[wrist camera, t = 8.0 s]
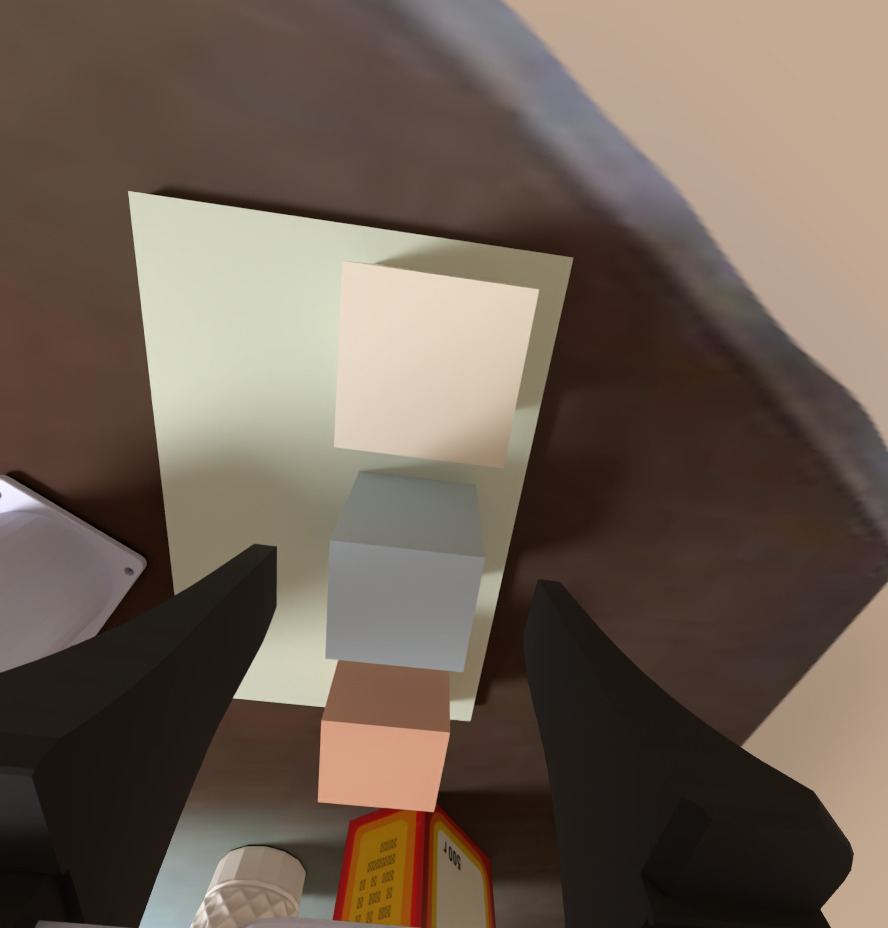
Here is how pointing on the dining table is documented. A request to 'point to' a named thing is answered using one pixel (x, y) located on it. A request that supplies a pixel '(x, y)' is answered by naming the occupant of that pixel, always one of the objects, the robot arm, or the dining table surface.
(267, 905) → the white cup
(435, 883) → the baking soda box
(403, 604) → the matte grey-blue cube
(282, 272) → the sage board
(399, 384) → the tan cuboid
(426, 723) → the salmon pink cube
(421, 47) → the dining table surface
